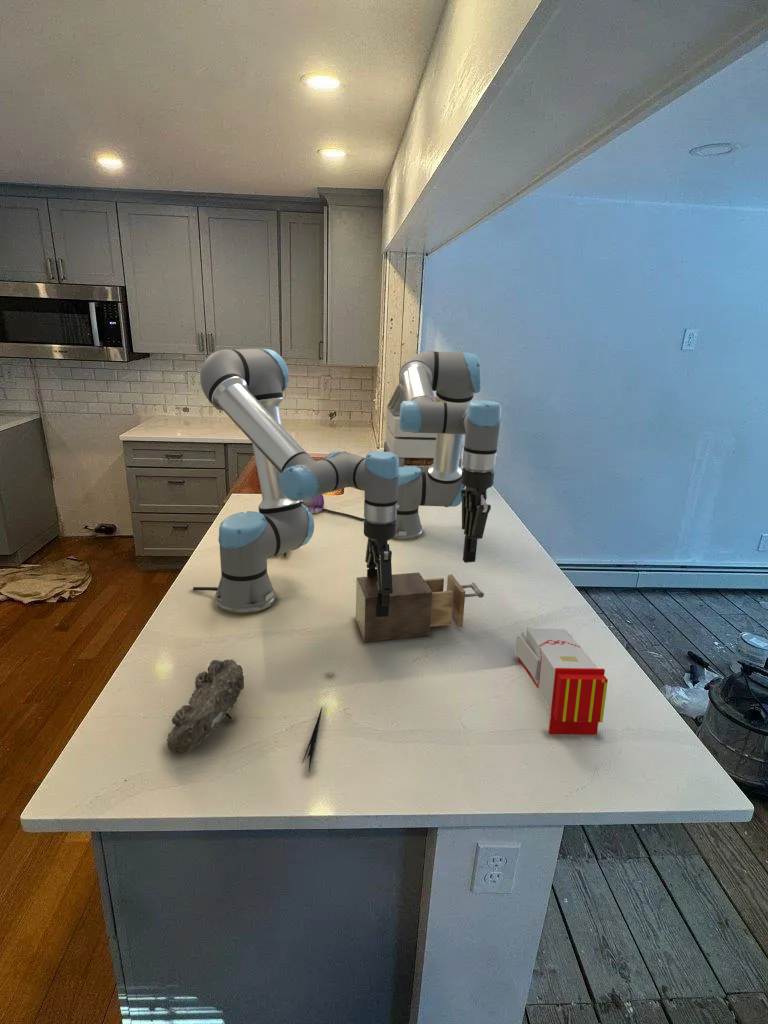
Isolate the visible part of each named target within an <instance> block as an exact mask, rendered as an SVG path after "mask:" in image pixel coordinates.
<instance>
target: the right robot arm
mask: <svg viewBox="0 0 768 1024" xmlns="http://www.w3.org/2000/svg"><path fill="white" fill-rule="evenodd" d="M481 368H482V367H481V362H480V359H479V357H478V355H477V354H476V353H473V352H465V351H462V352H461V351H460V352H459V351H434V350H427V351H421V352H419V353H416V354H413V355H412V356H410V357H409V358H408V359H407V360H406V361H405V362H403V364H402V365H401V367H400V369H399V373H398V381H399V384H400V386H401V387H402V388H403V389H404V392H405V399H406V401H403V402H402V403H401V405H400V429H401V430H402V431H404V432H412V433H437V434H436V443H435V452H434V461H433V464H432V465H430V466H429V465H428V469H427V472H424V471H423V472H422V469H421V468H420V467H419V466H407V465H404V467H399V472H400V473H399V481H398V493H397V505H399V509H397V516H396V519H395V520H396V535H395V537H393V538H392V539H391V540H395V541H410V540H415V539H418V538H420V537H421V536H422V535H423V525H422V524H421V518H420V515H419V507H444V508H449V507H451V508H455V507H458V506H459V505H460V504H461V530H463V534H464V544H463V553H462V554H463V555H462V561H463V562H464V563H476V558H477V548H478V541H479V540H480V539H483V537H484V533H485V529H486V525H487V521H488V516H489V513H490V511H491V508H492V506H491V504H487V498H488V496H487V490H488V489H489V488H492V487H493V485H494V481H495V470H494V469H495V468H496V461H497V459H498V454H497V451H498V445H499V444H498V443H499V435H500V427H501V422H502V406H501V404H500V403H499V402H497V401H493V400H485V399H475V400H474V394H479V393H480V392H481V387H482V371H481ZM434 392H435V395H434ZM434 397H437V398H438V399H439V400H440V402H435V398H434ZM463 439H464V446H463V443H462V441H463ZM461 445H462V446H463V450H462V462H461V467H463V468H461V469H460V468H459V460H460V452H461ZM301 503H302V505H303V500H301ZM321 512H326V513H330V514H334V515H339V516H344V517H348V518H352V519H355V520H358V521H362V522H364V520H365V518H364V517H359V516H356V515H353V514H349V513H345V512H340V511H335V510H331V509H328V508H323V509H322V511H321Z"/></svg>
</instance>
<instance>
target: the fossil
mask: <svg viewBox="0 0 768 1024" xmlns="http://www.w3.org/2000/svg"><path fill="white" fill-rule="evenodd" d="M243 670H244V669H243V667H242V665H240V664H237V662H236V661H235V660H234V659H232V658H231V659H227V658H226V659H224V660H223V661H222V660H217V659H212V660H211V661H210V663H209V665H208V666H207V671H201V672H199V673H198V674H197V675H196V676H195V680H194V684H195V685H194V687H195V689H194V690H193V693H192V694H191V697H190V698H189V700H188V704H184V705H182V706H181V707H180V709H177V710H176V711H175V713H174V715H173V716H172V718H171V723H172V724H173V727H172V730H171V731H170V732H168V734H167V738H166V741H167V742H166V745H167V749H168V750H169V751H173V752H174V753H176V754H178V753H182V752H188V751H189V752H192V751H193V750H195V748H196V747H197V746H199V744H200V743H201V742H203V741H204V740H205V739H206V738H207V737H208V736H209V735H210V734H211V733H212V732H214V730H215V729H217V727H218V726H219V724H220V722H221V721H222V720H223V719H224V718H225V716H226V717H227V719H229V720H233V717H232V715H230V714H229V710H230V709H231V708H234V706H235V704H236V703H237V702H238V699H239V697H240V695H241V693H242V691H243V690H245V689H244V688H245V675H244V671H243Z"/></svg>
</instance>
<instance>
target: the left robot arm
mask: <svg viewBox="0 0 768 1024" xmlns="http://www.w3.org/2000/svg"><path fill="white" fill-rule="evenodd" d="M289 374H290V373H289V369H288V366H287V363H286V362H285V360H284V359H283V357H282V356H281V355H280V354H279V353H278V352H277V351H275V350H273V349H270V348H261V347H257V348H256V347H255V348H239V349H238V348H237V349H220V350H217V351H215V352H213V353H211V354H210V355H209V356H208V357H206V359H205V360H204V362H203V364H202V367H201V369H200V373H199V381H200V387H201V390H202V392H203V394H204V396H205V397H206V399H207V400H208V402H209V403H210V404H211V405H212V406H213V407H214V409H216V410H217V411H222V412H224V413H225V414H226V415H227V416H228V418H230V419H231V421H232V422H233V423H234V424H235V425H236V426H237V427H238V428H239V430H240V431H241V432H242V433H243V434H244V435H245V436H246V437H247V438H248V440H249V441H251V446H252V450H253V456H254V460H255V467H256V472H257V476H258V482H259V487H260V493H261V498H262V499H261V502H260V503H259V505H258V508H257V509H258V511H254V510H253V511H252V510H251V511H249V510H248V511H245V512H244V511H240V512H236V513H233V514H231V515H228V516H227V517H225V518H224V519H223V520H222V521H221V522H220V524H219V528H218V540H217V541H218V544H219V558H220V559H219V560H220V574H221V575H220V579H219V580H220V581H219V583H218V585H217V587H216V586H213V587H212V586H211V587H210V586H193V588H192V590H193V591H211V592H213V591H214V592H216V593H215V606H216V607H217V609H219V610H220V611H221V612H224V613H226V614H231V615H237V616H246V615H252V614H258V613H261V612H263V611H266V610H267V609H269V608H270V607H271V606H272V605H273V604H275V601H276V592H275V591H276V590H275V589H274V587H273V584H272V581H271V579H270V576H269V574H268V560H269V559H271V558H274V557H275V558H276V557H278V556H279V555H284V553H285V552H287V553H289V552H290V551H295V550H297V549H299V548H301V547H303V546H305V545H307V544H308V543H309V542H310V540H311V539H312V537H313V535H314V532H315V519H314V517H313V513H311V512H309V509H308V508H307V507H306V506H305V505H303V504H302V503H301V501H303V500H305V499H311V498H313V497H315V496H319V495H325V494H328V493H333V492H336V491H340V490H342V489H345V488H352V489H356V490H359V491H364V500H363V518H364V519H365V520H364V521H363V535H364V536H365V537H366V538H367V544H366V552H365V559H364V562H365V564H366V568H367V569H366V577H370V576H378V586H379V591H376V594H377V617H385V616H389V594H392V593H393V590H392V575H393V572H392V571H393V570H392V568H393V567H392V556H393V555H392V554H393V552H392V550H391V548H390V544H389V543H388V541H389V540H393V539H392V538H393V537H395V535H396V520H395V519H396V516H397V509H399V505H397V493H398V481H399V473H400V472H399V459H398V456H397V455H396V454H394V453H391V452H384V450H374V451H370V452H368V453H367V454H366V455H365V457H364V456H361V455H357V454H353V453H351V452H348V451H339V450H334V451H331V452H329V454H328V455H326V456H325V458H324V459H318V460H315V459H314V458H313V457H312V456H311V455H310V454H309V453H308V452H307V451H306V450H305V449H304V448H303V447H302V446H301V445H300V443H298V442H297V441H296V439H294V437H293V436H292V435H291V434H290V433H289V432H288V431H287V430H286V429H285V428H284V427H283V422H282V416H281V410H280V405H281V403H282V402H283V401H284V394H283V392H284V391H285V390H286V389H287V387H288V386H289V385H288V383H289V382H290V381H289V380H290V375H289ZM288 551H289V552H288Z"/></svg>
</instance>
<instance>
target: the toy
mask: <svg viewBox="0 0 768 1024" xmlns="http://www.w3.org/2000/svg"><path fill="white" fill-rule="evenodd" d="M520 632H521V633H520V634H519V633H518V634H517V635H516V642H515V647H514V653H515V654H516V655H517V660H518V661H519V663H520V664H521V666H522V667H523V669H524V670H525V672H526V673H527V675H528V676H529V678H530V680H531V681H532V683H533V684H534V685H535V687H536V688H537V689H538V692H539V694H540V696H541V697H542V699H543V701H544V702H545V704H546V706H547V708H548V710H549V711H550V716H549V724H548V734H549V735H566V736H567V735H568V736H569V735H571V736H575V735H576V736H597V735H598V730H599V723H603V722H604V714H605V705H606V698H607V689H608V682H609V680H608V678H607V677H606V676H605V674H606V669H604V668H599V667H598V666H597V664H596V663H594V662H593V660H592V659H591V657H589V655H588V654H587V653H586V652H585V650H584V649H583V648H582V647H581V646H580V644H579V643H578V642H577V641H576V640H575V639H574V637H573V636H572V635H571V634H570V632H569V631H568V630H567V629H566V628H535V627H534V628H533V627H532V628H531V627H529V628H526V630H523V629H521V631H520Z"/></svg>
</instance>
